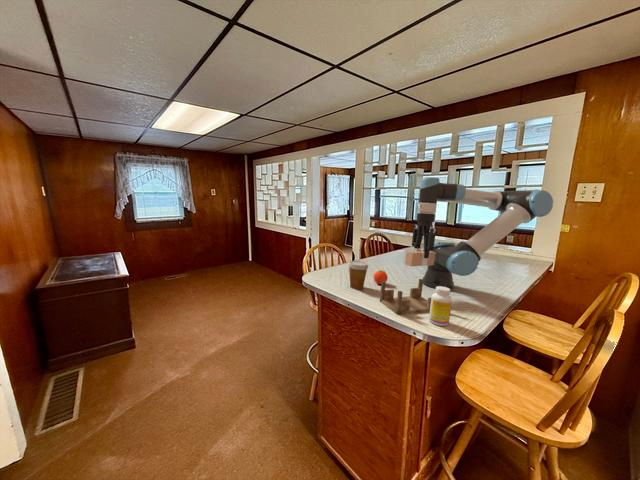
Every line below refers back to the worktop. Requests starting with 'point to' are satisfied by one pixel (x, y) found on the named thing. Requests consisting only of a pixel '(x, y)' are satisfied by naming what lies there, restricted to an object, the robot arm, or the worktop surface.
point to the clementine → (380, 277)
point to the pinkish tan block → (418, 258)
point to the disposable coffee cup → (357, 274)
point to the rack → (405, 300)
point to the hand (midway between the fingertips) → (420, 263)
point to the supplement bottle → (440, 306)
